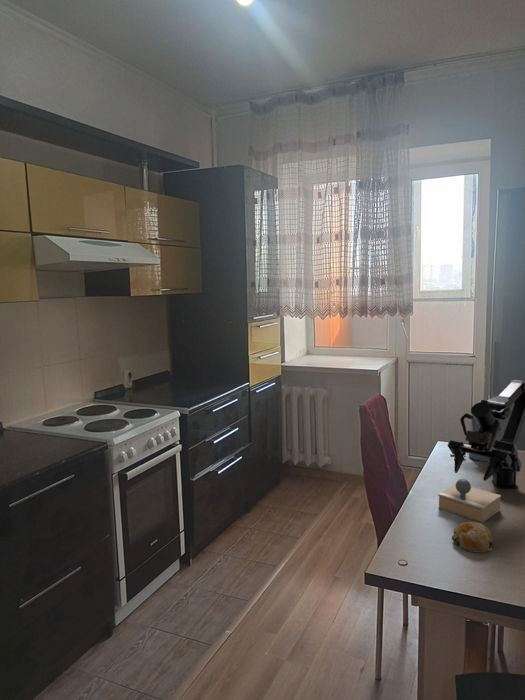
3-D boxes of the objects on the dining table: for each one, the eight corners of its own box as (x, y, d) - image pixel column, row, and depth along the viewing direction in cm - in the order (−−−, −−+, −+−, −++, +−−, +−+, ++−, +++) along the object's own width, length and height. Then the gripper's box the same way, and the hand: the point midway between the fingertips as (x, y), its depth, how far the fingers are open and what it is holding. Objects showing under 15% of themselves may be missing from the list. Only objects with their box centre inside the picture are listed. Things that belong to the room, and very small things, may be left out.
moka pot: (503, 463, 201) (505, 413, 199) (461, 461, 204) (463, 412, 202) (497, 454, 211) (499, 407, 208) (457, 453, 214) (458, 406, 211)
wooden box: (456, 497, 172) (457, 485, 171) (499, 510, 161) (500, 498, 161) (438, 508, 164) (439, 496, 163) (482, 523, 153) (482, 510, 153)
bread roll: (481, 568, 136) (496, 546, 134) (445, 544, 141) (459, 522, 138) (487, 551, 145) (501, 530, 142) (453, 529, 149) (466, 507, 146)
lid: (456, 484, 171) (457, 464, 170) (501, 497, 161) (501, 476, 160) (437, 496, 163) (437, 475, 162) (482, 510, 152) (483, 488, 151)
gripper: (451, 415, 169) (433, 456, 163) (509, 426, 155) (492, 471, 149) (461, 433, 175) (444, 473, 169) (518, 445, 162) (502, 489, 156)
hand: (469, 476), depth 161 cm, fingers open, 9 cm apart
